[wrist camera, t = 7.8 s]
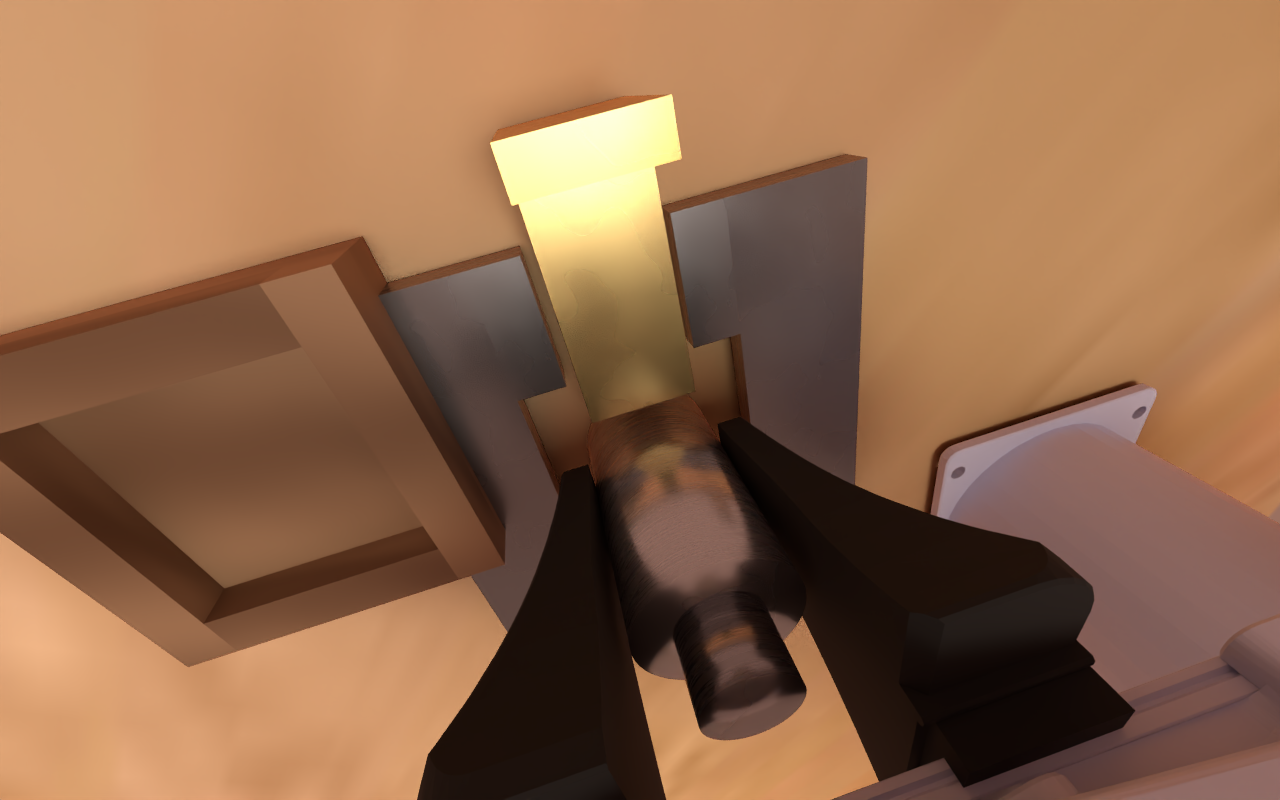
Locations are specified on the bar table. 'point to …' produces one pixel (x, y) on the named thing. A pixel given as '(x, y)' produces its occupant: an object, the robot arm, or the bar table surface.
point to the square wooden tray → (237, 456)
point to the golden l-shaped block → (604, 244)
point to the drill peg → (697, 568)
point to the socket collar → (711, 310)
